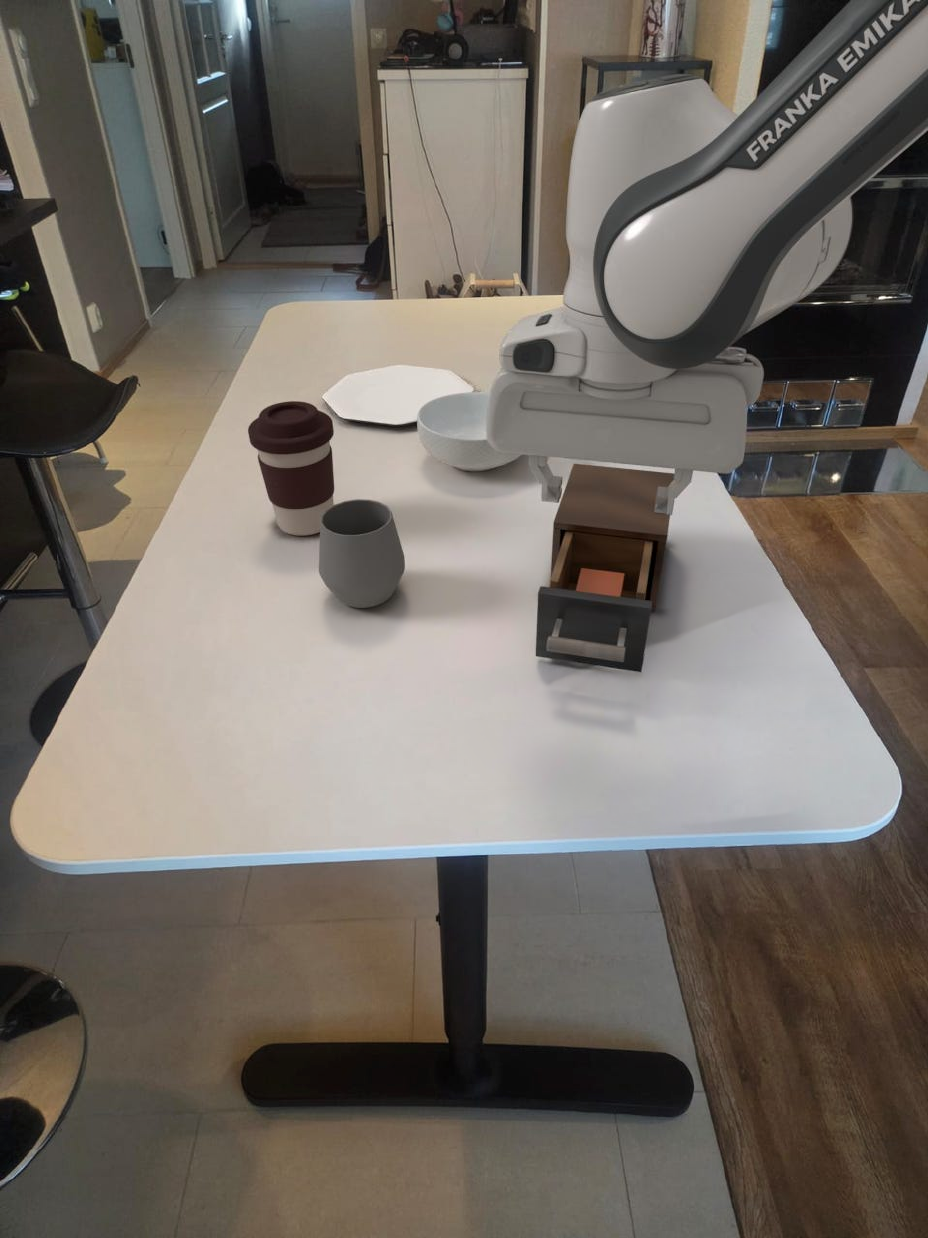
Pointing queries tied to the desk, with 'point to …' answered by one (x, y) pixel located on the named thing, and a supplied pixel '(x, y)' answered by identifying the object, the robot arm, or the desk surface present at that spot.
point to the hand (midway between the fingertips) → (606, 505)
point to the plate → (391, 393)
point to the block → (600, 582)
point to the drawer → (596, 604)
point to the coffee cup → (295, 463)
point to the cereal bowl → (459, 432)
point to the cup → (360, 552)
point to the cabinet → (615, 511)
